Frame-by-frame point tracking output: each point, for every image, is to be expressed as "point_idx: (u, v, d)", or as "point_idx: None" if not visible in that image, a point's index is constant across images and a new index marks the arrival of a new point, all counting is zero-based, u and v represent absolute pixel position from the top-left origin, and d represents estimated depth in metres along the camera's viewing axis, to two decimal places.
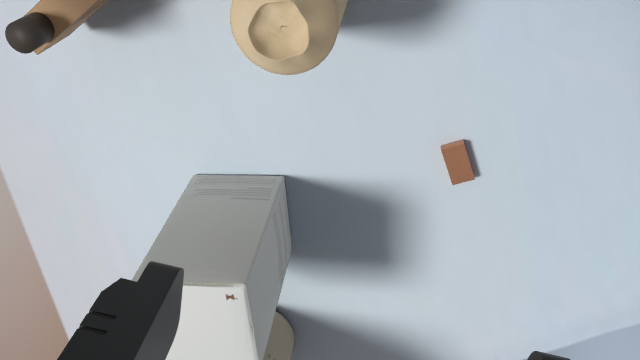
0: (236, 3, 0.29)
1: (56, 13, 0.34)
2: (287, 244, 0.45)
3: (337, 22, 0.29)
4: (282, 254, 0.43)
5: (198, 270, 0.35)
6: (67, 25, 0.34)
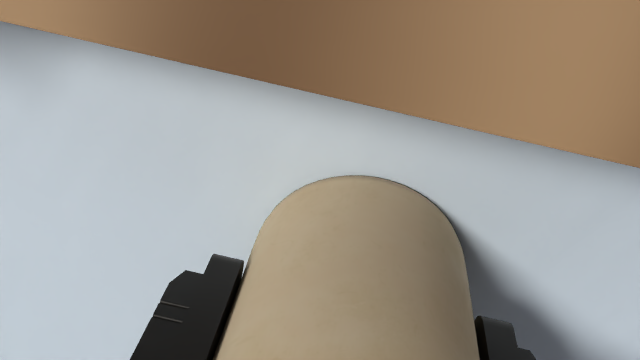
0: None
1: None
2: None
3: None
4: None
5: None
6: None
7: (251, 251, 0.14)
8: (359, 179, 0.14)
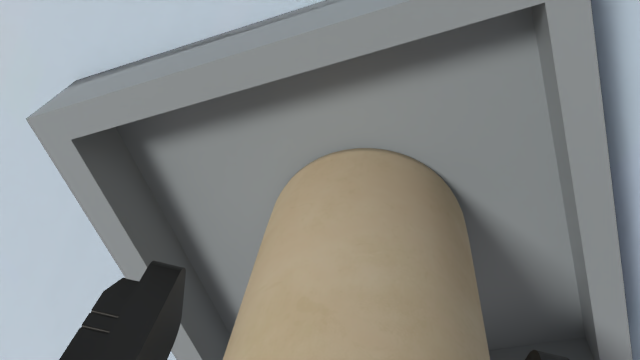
0: None
1: None
2: None
3: None
4: None
5: None
6: None
7: (270, 217, 0.15)
8: (370, 150, 0.15)
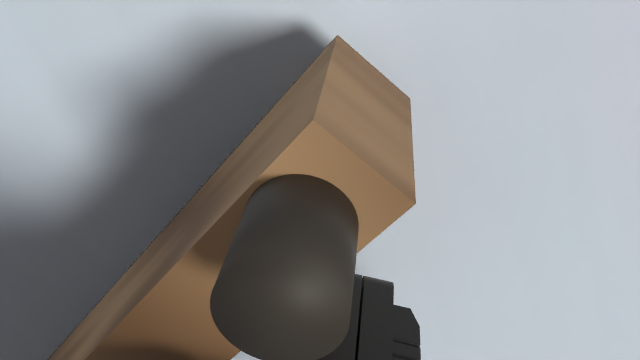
0: None
1: None
2: None
3: None
4: None
5: None
6: (200, 245, 0.10)
7: None
8: None
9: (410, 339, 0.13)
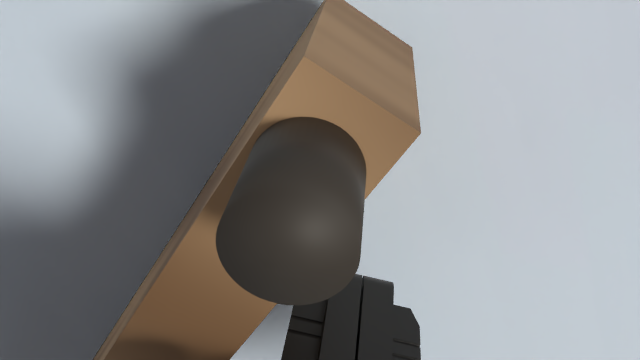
0: None
1: None
2: None
3: None
4: None
5: None
6: (210, 207, 0.09)
7: None
8: None
9: (410, 339, 0.13)
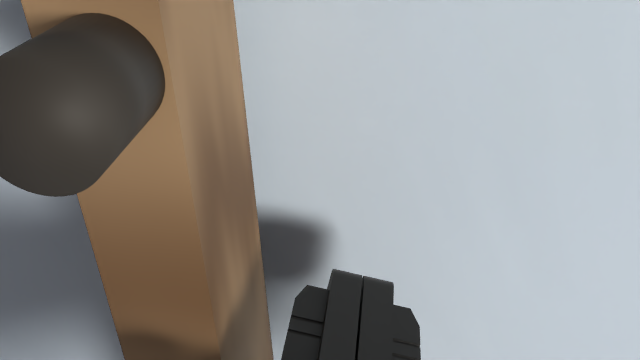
0: None
1: (123, 164, 0.09)
2: None
3: None
4: None
5: None
6: None
7: None
8: None
9: (410, 339, 0.13)
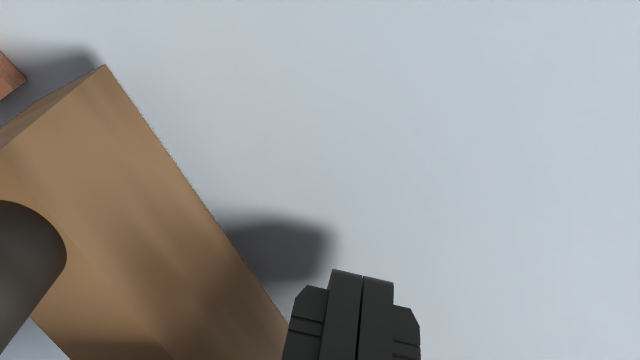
0: None
1: (69, 306, 0.11)
2: None
3: None
4: None
5: None
6: (36, 318, 0.11)
7: None
8: None
9: (410, 339, 0.13)
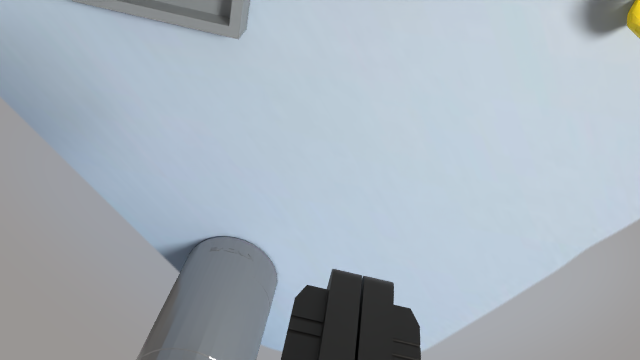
0: None
1: None
2: None
3: None
4: None
5: None
6: None
7: None
8: None
9: (410, 339, 0.13)
